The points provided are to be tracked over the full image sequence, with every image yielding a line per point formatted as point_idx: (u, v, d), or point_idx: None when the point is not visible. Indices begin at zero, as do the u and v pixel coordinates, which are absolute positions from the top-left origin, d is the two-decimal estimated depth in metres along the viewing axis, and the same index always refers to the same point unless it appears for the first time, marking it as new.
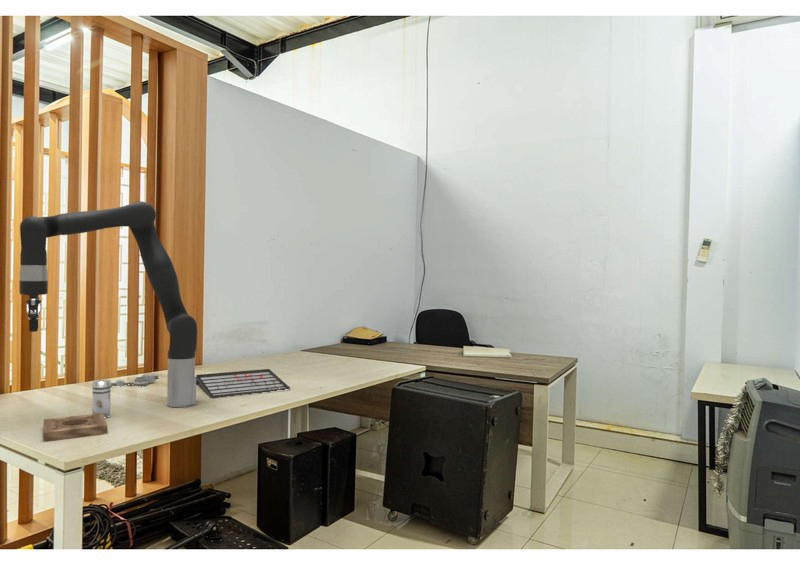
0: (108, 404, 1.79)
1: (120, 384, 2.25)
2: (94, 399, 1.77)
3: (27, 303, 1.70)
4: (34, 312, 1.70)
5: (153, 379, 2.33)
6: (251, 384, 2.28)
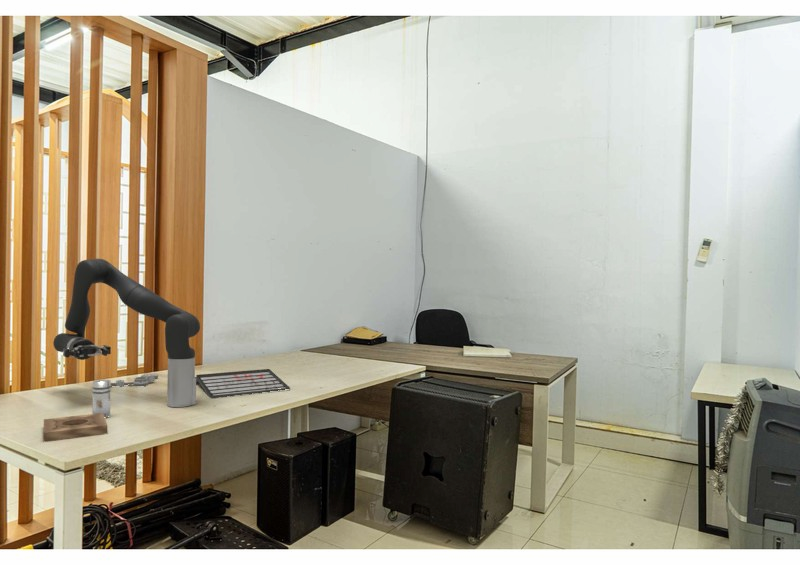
0: (108, 404, 1.79)
1: (120, 384, 2.25)
2: (94, 399, 1.77)
3: None
4: None
5: (153, 379, 2.33)
6: (251, 384, 2.28)
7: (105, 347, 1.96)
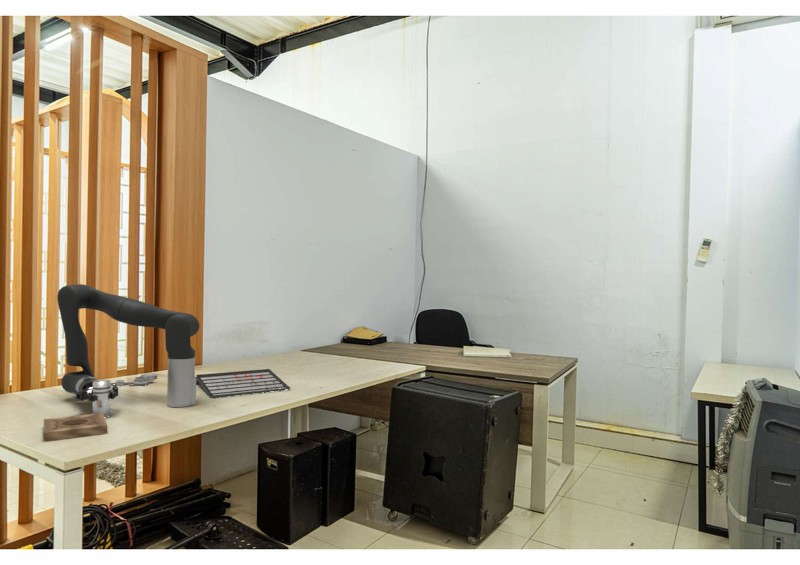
0: (108, 404, 1.79)
1: (120, 384, 2.25)
2: None
3: None
4: None
5: (153, 379, 2.33)
6: (251, 384, 2.28)
7: (114, 388, 1.86)
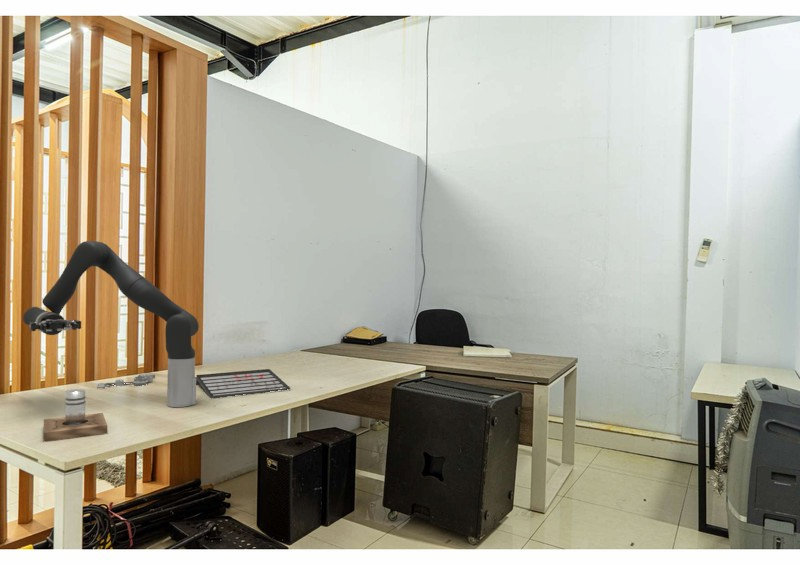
0: (82, 416, 1.64)
1: (120, 384, 2.26)
2: (67, 411, 1.62)
3: None
4: None
5: (152, 378, 2.34)
6: (251, 384, 2.28)
7: (75, 321, 1.84)
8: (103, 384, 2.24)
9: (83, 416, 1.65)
